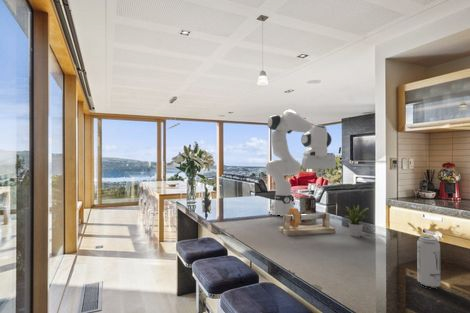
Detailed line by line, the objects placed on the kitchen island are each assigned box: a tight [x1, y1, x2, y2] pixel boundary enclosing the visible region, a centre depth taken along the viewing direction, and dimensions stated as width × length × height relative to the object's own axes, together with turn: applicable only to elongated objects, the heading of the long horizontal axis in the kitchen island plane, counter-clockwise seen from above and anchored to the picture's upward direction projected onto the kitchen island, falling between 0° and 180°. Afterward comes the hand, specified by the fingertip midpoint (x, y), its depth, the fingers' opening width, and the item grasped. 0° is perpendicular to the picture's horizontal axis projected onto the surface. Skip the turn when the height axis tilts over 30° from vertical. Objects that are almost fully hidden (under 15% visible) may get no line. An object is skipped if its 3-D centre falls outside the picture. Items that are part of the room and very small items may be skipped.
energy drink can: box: [416, 235, 441, 288], centre depth 90 cm, size 6×6×15 cm
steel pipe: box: [284, 212, 326, 221], centre depth 156 cm, size 3×26×3 cm, turn 104°
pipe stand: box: [278, 212, 336, 237], centre depth 156 cm, size 12×28×10 cm, turn 104°
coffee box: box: [299, 196, 317, 225], centre depth 175 cm, size 9×6×16 cm
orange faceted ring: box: [288, 207, 301, 228], centre depth 155 cm, size 10×2×10 cm, turn 14°
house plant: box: [345, 203, 369, 238], centre depth 147 cm, size 14×14×16 cm
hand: (319, 176), depth 165 cm, fingers closed
